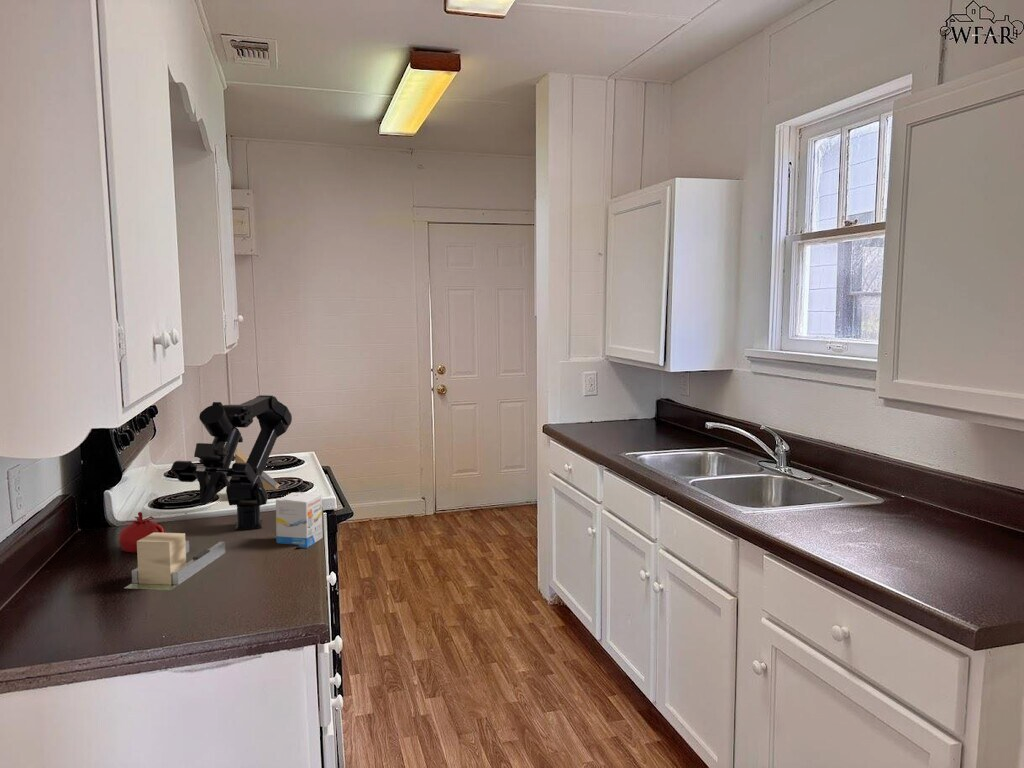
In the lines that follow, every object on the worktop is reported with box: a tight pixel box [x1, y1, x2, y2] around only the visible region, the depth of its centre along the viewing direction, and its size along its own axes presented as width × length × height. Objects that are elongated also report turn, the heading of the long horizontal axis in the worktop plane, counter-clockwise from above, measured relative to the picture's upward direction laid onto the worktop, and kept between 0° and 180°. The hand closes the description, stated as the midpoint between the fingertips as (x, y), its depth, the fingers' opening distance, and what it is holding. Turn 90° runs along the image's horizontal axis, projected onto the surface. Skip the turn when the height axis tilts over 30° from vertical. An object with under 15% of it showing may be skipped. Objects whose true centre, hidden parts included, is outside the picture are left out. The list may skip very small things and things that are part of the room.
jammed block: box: [136, 532, 187, 585], centre depth 147 cm, size 6×7×9 cm
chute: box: [124, 539, 226, 591], centre depth 154 cm, size 26×14×4 cm, turn 176°
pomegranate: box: [118, 511, 165, 554], centre depth 167 cm, size 10×10×9 cm
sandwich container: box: [234, 448, 281, 490], centre depth 219 cm, size 9×15×15 cm, turn 109°
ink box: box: [275, 491, 323, 549], centre depth 174 cm, size 9×8×12 cm
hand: (202, 503), depth 163 cm, fingers closed
